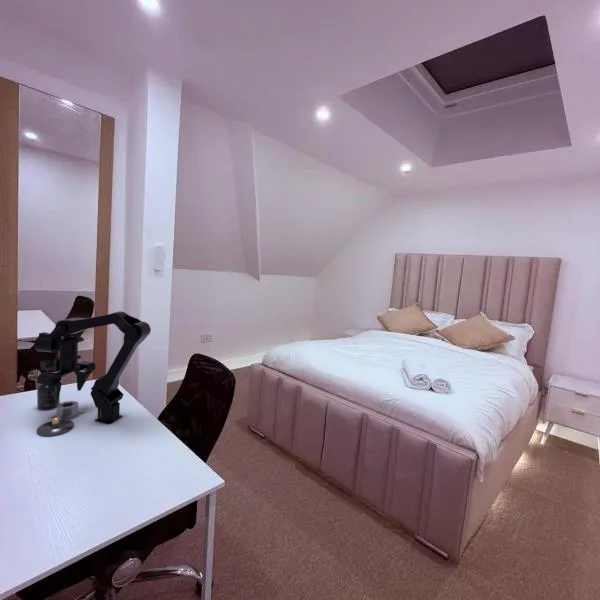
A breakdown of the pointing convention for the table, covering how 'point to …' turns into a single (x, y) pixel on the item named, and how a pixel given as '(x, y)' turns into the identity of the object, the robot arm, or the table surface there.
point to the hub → (55, 427)
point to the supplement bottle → (46, 398)
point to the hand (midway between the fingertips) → (68, 394)
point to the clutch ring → (67, 410)
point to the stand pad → (70, 418)
